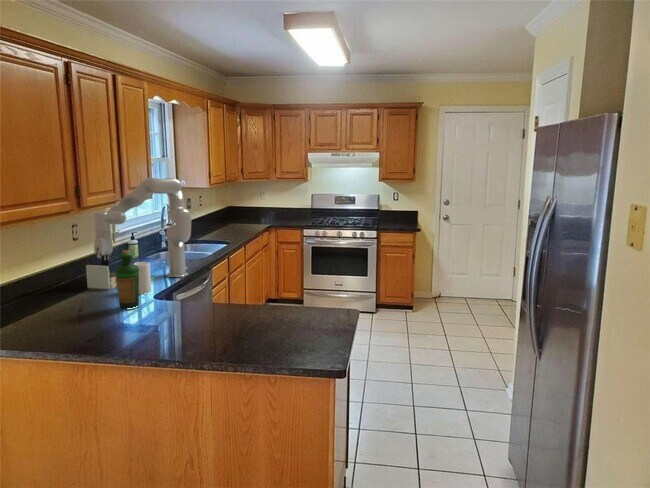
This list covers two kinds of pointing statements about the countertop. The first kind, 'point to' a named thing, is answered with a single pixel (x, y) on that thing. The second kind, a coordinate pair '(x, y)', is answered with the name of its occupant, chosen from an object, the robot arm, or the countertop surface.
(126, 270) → the bottle
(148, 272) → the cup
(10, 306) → the countertop surface
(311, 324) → the countertop surface
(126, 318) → the countertop surface
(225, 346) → the countertop surface
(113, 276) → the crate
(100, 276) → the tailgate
